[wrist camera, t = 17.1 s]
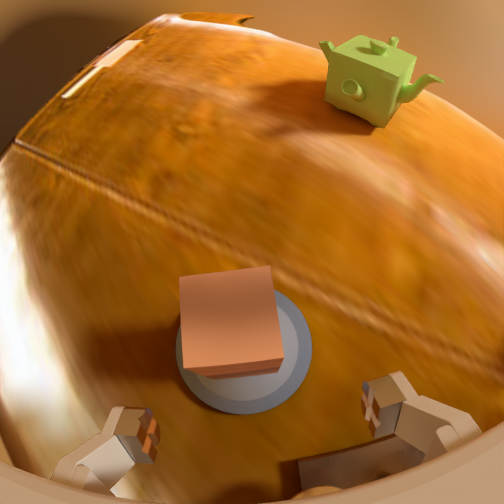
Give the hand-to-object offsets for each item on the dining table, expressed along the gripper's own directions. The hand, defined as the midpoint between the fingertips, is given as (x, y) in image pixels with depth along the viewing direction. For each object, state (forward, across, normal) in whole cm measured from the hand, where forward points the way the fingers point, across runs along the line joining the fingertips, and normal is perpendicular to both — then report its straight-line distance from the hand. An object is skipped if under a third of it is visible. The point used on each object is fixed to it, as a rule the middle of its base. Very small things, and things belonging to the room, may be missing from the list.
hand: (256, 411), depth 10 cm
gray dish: (+13, +1, +6) cm, 14 cm away
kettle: (+34, -21, -15) cm, 43 cm away
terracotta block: (+12, +1, +5) cm, 13 cm away
